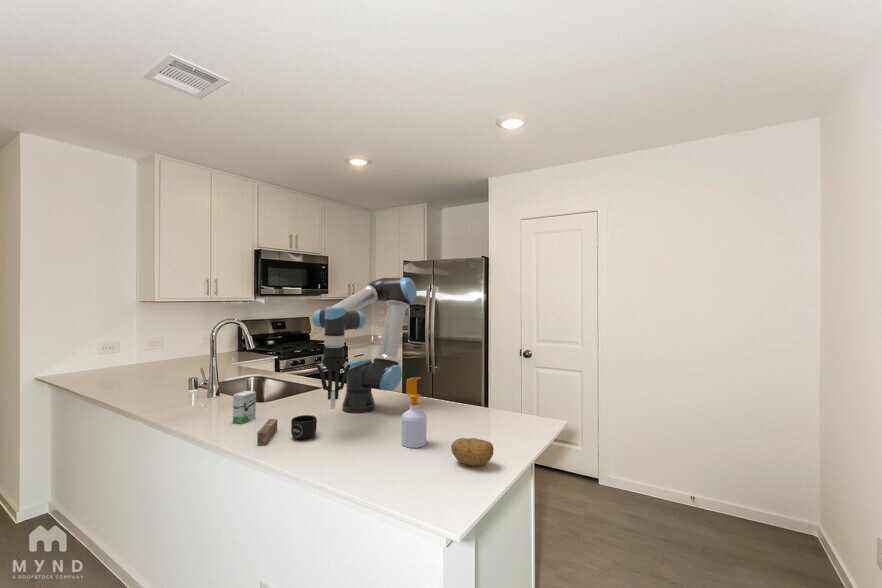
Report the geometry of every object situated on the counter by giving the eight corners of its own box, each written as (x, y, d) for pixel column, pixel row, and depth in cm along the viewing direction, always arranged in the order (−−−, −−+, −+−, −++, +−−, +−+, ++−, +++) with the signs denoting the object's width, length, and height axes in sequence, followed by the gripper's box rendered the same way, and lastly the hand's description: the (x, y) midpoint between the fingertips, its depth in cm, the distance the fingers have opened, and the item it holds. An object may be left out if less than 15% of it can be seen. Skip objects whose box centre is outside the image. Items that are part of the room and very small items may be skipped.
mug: (306, 443, 148) (306, 423, 148) (285, 439, 151) (286, 420, 151) (325, 432, 160) (326, 414, 160) (306, 429, 163) (306, 411, 163)
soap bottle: (407, 450, 143) (408, 380, 143) (397, 441, 151) (398, 375, 151) (430, 446, 147) (431, 377, 147) (419, 437, 155) (420, 373, 155)
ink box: (242, 424, 168) (242, 395, 168) (232, 423, 169) (232, 394, 169) (256, 418, 177) (256, 390, 177) (246, 417, 178) (246, 390, 178)
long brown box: (277, 430, 161) (277, 418, 161) (266, 445, 146) (266, 431, 146) (269, 430, 161) (269, 418, 161) (257, 445, 145) (257, 432, 145)
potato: (456, 455, 139) (456, 431, 139) (496, 462, 134) (497, 437, 134) (446, 466, 130) (446, 441, 130) (489, 474, 124) (489, 448, 124)
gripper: (352, 345, 162) (350, 405, 161) (318, 345, 160) (316, 405, 159) (350, 347, 154) (349, 410, 154) (315, 347, 152) (313, 410, 152)
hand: (332, 407), depth 157 cm, fingers closed
